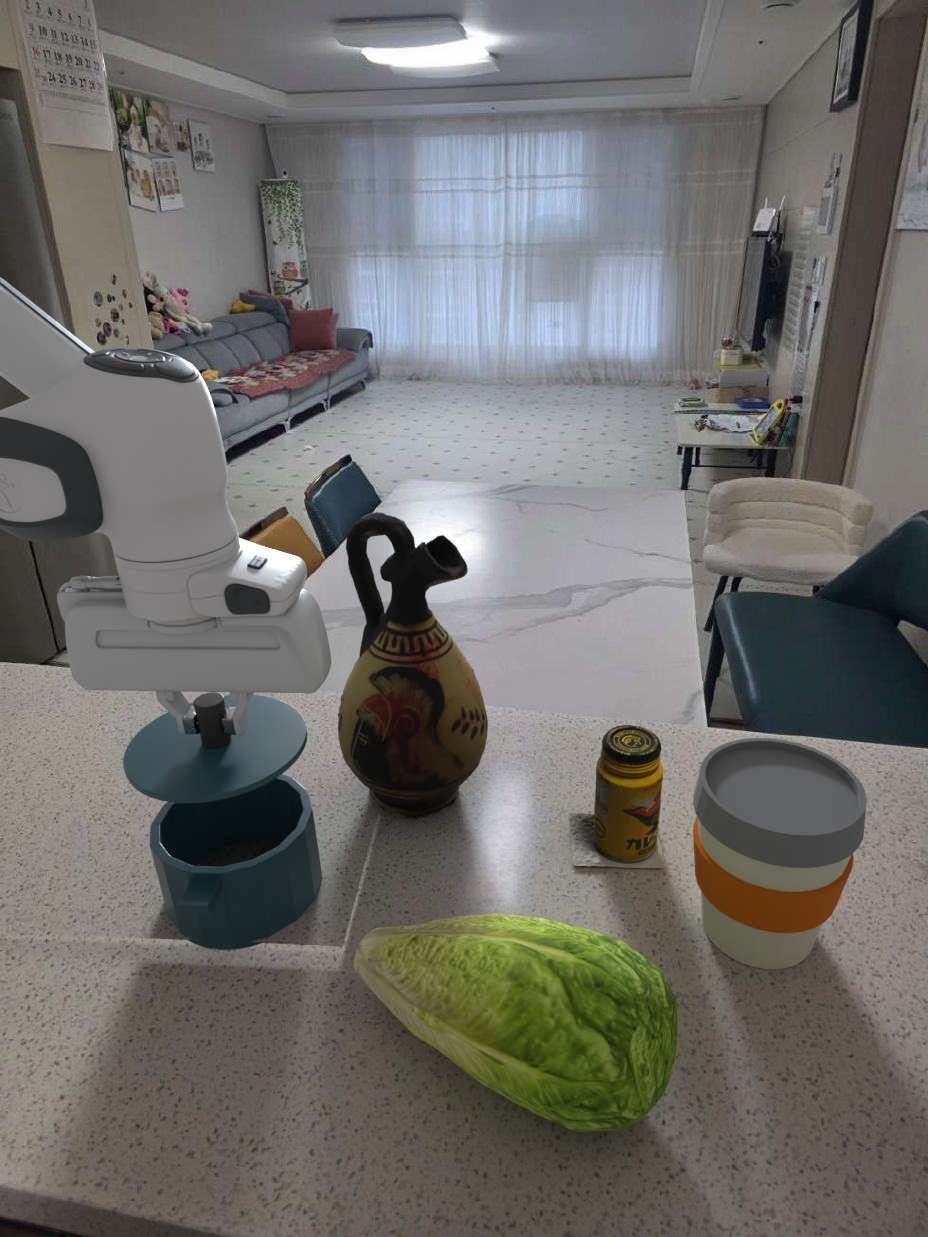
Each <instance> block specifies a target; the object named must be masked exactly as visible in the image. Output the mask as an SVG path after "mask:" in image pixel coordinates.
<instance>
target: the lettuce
mask: <svg viewBox="0 0 928 1237" xmlns="http://www.w3.org/2000/svg"><path fill="white" fill-rule="evenodd" d="M353 968H354V970H355V972H356V974H357V975H358V976H359V978H360V980H361V981H362V982H363V983H364V984H365V986H366V987H367V988H368V989H369V990H370V991H371V992H372V993H373V994H374V995H375V996H376V997H377V998H378V999H379V1000H380V1001H381V1002H382V1003H383V1004H384V1005H385V1007H386V1008H387V1009H388V1010H389V1011H390V1012H391V1014H393V1015H394V1017H396V1018H397V1020H399V1021H400V1022H401V1023H402V1024H403V1026H404V1027H405V1028H407V1030H409V1032H410V1033H411V1034H412V1035H413V1036H415V1037H416V1038H418V1039H419V1040H421V1041H423V1042H424V1043H426V1044H427V1045H429V1046H430V1047H432V1048H433V1049H435V1050H436V1051H438V1052H439V1053H441V1054H442V1055H443V1056H445V1057H446V1058H448V1059H449V1060H450V1061H451V1062H452V1063H454V1064H455V1065H456V1066H458V1067H459V1068H460V1069H461V1070H463V1071H464V1072H465V1073H466V1074H468V1075H469V1076H470V1077H472V1078H473V1079H474V1080H475V1081H476V1082H477V1083H480V1084H481V1085H483V1086H485V1087H486V1088H488V1089H490V1090H492V1091H493V1092H495V1093H497V1094H499V1095H500V1096H502V1097H504V1098H506V1099H508V1100H510V1101H511V1102H513V1103H515V1104H516V1105H518V1106H520V1107H521V1108H523V1109H526V1110H527V1111H529V1112H531V1113H533V1114H535V1115H537V1116H539V1117H541V1118H543V1119H546V1120H548V1121H550V1122H553V1123H554V1124H556V1125H559V1126H561V1127H564V1128H566V1129H567V1130H570V1131H572V1132H575V1133H584V1132H585V1133H586V1132H588V1133H589V1132H607V1131H608V1132H609V1131H610V1132H611V1131H624V1130H625V1129H627V1128H628V1127H630V1126H632V1125H634V1124H635V1123H636V1122H638V1121H639V1120H641V1119H642V1118H644V1117H645V1116H647V1115H648V1114H649V1113H650V1112H651V1110H653V1108H654V1107H655V1106H656V1104H657V1103H658V1102H659V1101H660V1100H661V1098H663V1096H664V1094H665V1092H666V1090H667V1087H668V1085H669V1082H670V1080H671V1077H672V1072H673V1068H674V1065H675V1062H676V1054H677V1048H678V1037H679V1020H678V1016H679V1015H678V1001H677V997H676V995H675V993H674V991H673V990H672V987H671V986H670V983H669V981H668V980H667V978H666V975H665V974H664V972H663V970H662V969H661V968H660V967H658V966H657V965H656V964H655V963H653V962H652V961H650V960H649V959H647V957H645V956H643V955H642V954H641V953H639V952H638V951H636V950H635V949H634V948H632V947H631V946H629V945H628V944H627V943H625V942H624V941H623V940H621V939H620V938H619V939H618V938H616V937H614V936H611V935H608V934H605V933H602V932H600V931H596V930H595V929H594V930H593V929H590V928H587V927H582V926H578V925H573V924H570V923H565V922H560V921H557V920H552V919H547V918H543V917H539V916H528V915H518V914H506V913H486V914H485V913H483V914H482V913H481V914H469V915H459V916H453V917H448V918H442V919H436V920H435V919H434V920H431V921H426V922H421V923H417V924H414V925H398V926H397V925H394V926H384V927H383V926H382V927H377V928H374V929H372V930H370V931H368V932H367V933H365V935H364V936H363V937H362V939H361V940H360V942H359V944H358V947H357V948H356V950H355V955H354V958H353Z"/></svg>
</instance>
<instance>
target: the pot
mask: <svg viewBox="0 0 928 1237" xmlns="http://www.w3.org/2000/svg"><path fill="white" fill-rule="evenodd" d="M149 826H150V828H149V830H150V831H149V848H150V851H151V855H152V859H153V860H152V861H153V863H154V867H155V871H156V875H157V878H158V883H159V886H160V891H161V894H162V898H163V901H164V906H165V909H166V913H167V917H168V918H169V919H170V920H171V922H172V924H173V926H175V928H176V929H177V931H178V932H179V934H181V935H182V936H184V937H187V939H186V941H188V942H189V943H190V942H191V943H192V944H194V945H196V946H199V947H202V948H206V949H211V950H238V949H246V948H250V947H254V946H257V945H260V944H262V941H261V942H256V941H259V940H263V939H267V938H269V937H271V936H272V935H275V934H277V933H278V932H280V931H282V930H283V929H285V928H287V927H288V926H290V925H292V924H294V923H295V922H296V921H298V920H299V918H301V916H302V915H303V914H304V913H305V912H306V910H307V909H308V908H310V906H311V905H312V904H313V903H314V902H315V901H316V899H317V896H318V893H319V889H320V887H321V883H322V880H323V872H322V866H321V859H320V851H319V844H318V838H317V831H316V824H315V816H314V810H313V805H312V801H311V797H310V793H309V791H308V789H306V788H305V787H304V786H303V785H302V784H301V783H300V782H299V781H297V780H296V779H295V778H294V777H292V776H289V775H287V774H285V773H282V774H281V775H280V776H278V777H277V778H275V779H274V780H272V781H271V782H269V783H267V784H265V785H263V786H261V787H259V788H256V789H254V790H252V791H249V792H247V793H244V794H241V795H238V796H235V797H231V798H227V799H223V800H217V801H211V802H203V803H173V802H167V801H166V803H164V804H163V805H162V807H161V808H160V809H159V811H158V813H157V814H156V816H155V817H154V819H153V820H152V821H151V824H150V825H149ZM253 841H259V842H260V841H261V842H278V843H280V844H278V845H277V846H275V847H273V848H272V849H269V850H267V851H266V852H264V853H262V854H260V855H259V856H257V857H254V858H253V859H249V860H245V861H239V862H236V863H231V864H228V865H222V866H211V865H210V866H207V865H206V866H205V865H199V864H200V863H202V862H203V861H204V860H205V859H206V858H208V857H210V856H212V855H214V854H216V853H218V852H220V851H222V850H224V849H225V848H227V847H230V846H235V845H240V844H243V843H249V842H253ZM188 938H189V939H188Z"/></svg>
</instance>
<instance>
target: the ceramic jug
mask: <svg viewBox="0 0 928 1237" xmlns="http://www.w3.org/2000/svg"><path fill="white" fill-rule="evenodd" d="M378 536H386V537H387V539H388V540H389V542H390V543H391V546H392V548H393V551H394V552H393V553H392V554H391V555H390V556H389V557H387V558H386V559H385V561H384V562H383V563H382V565H381V566H380V569H379V573H380V578H381V579H382V580H383V581H384V582H388V583H390V584H391V594H390V595H391V596H390V601H389V603H388V605H387V609H386V610H385V606H384V603H383V600H382V596H381V593H380V591H379V589H378V586H377V583H376V579H375V574H374V571H373V568H372V564H371V561H370V558H369V557H368V552H367V549H368V540H369V539H371V538H372V537H378ZM345 542H346V543H345V551H346V555H347V559H348V560H347V565H348V566H347V567H348V570H349V574H350V576H351V579H352V582H353V585H354V588H355V591H356V594H357V597H358V600H359V604H360V606H361V608H362V610H363V614H364V618H365V625H364V627H363V630H362V631H363V632H362V638H361V643H360V648H359V657H358V658H357V660H356V661H355V662H354V665H353V666H352V669H351V671H350V673H349V675H348V677H347V679H346V682H345V685H344V688H343V690H342V691H343V692H342V694H341V695H340V704H339V710H338V713H337V717H338V718H337V719H338V720H337V721H338V722H337V735H338V742H339V747H340V751H341V754H342V758H343V761H344V762H345V764H346V766H348V768H349V770H351V772H352V773H353V774H354V776H355V777H356V778H357V779H358V780H359V781H360V782H361V784H362V785H364V786H365V787H366V788H367V789H368V790H369V793H370V794H371V796H372V797H373V799H374V800H375V802H377V803H378V804H379V806H380V807H381V808H383V809H384V810H387V811H389V812H391V813H393V814H396V815H398V816H402V817H404V818H407V819H419V818H422V817H426V816H428V815H431V814H434V813H440V812H442V811H443V810H446V809H447V808H449V807H451V806H452V805H453V804H455V803H456V802H457V798H458V797H457V796H458V794H459V791H460V786H461V785H463V783H464V782H465V781H466V780H467V779H468V778H470V777H471V775H472V774H473V773H474V772H475V770H476V769H477V768H478V767H479V765H480V762H481V760H482V758H483V756H484V752H485V750H486V745H487V740H488V729H489V721H488V720H489V719H488V715H487V710H486V705H485V701H484V697H483V693H482V690H481V685H480V683H479V680H478V678H477V676H476V674H475V670H474V669H473V667H472V666H471V664H470V662H469V661H468V659H467V658H466V656H465V655H464V653H463V652H462V650H461V649H460V647H459V646H458V644H457V643H456V642H455V640H454V639H453V637H452V636H451V634H450V633H449V632H448V631H447V629H446V627H444V626H443V625H442V624H441V622H440V621H439V620H438V619H437V618H436V616H435V615H434V613H433V610H431V609H430V608H429V605H428V600H427V598H426V595H427V591H428V590H429V589H430V588H432V587H435V586H438V585H440V584H444V583H445V584H446V583H449V582H453V581H456V580H460V579H462V578H464V577H465V576H466V575H468V564H467V562H466V560H465V558H463V555H462V554H461V552H460V551H459V549H458V546H456V545H455V544H454V543H453V542H452V541H451V540H450V539H449V538H448V537H447V536H445V535H444V534H441V535H437V536H435V538H433V539H431V540H430V541H428V542H427V543H426V541H422V542H421V543H419V544H418V545H417V546H416V543H415V536H414V535H413V533H412V531H411V529H410V528H409V526H407V523H406V522H405V521H404V520H403V519H400V518H398V517H396V516H392V515H389V514H388V515H387V514H385V512H379V511H376V512H370V513H367V514H365V515H363V516H361V517H360V518H359V519H357V520H356V521H355V522H354V523H353V524H352V526H351V527H350V530H349V532H348V534H347V535H346V541H345Z"/></svg>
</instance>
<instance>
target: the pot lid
mask: <svg viewBox="0 0 928 1237" xmlns="http://www.w3.org/2000/svg"><path fill="white" fill-rule="evenodd" d="M189 703H190V704H191V706H194V709H195V713H196V718H197V723H198V727H199V732H200V733H199V734H180V733H179V729H178V725H177V721H176V718H174V717H173V716H172V715H171V714H170V713H169V712H168V711H167V712H165V713H163V714H161V715H160V716H158V717H156V718H155V719H153V720H152V721H151V722H149V723H148V724H146V725H145V726H144V727H143V728H141V729H140V730H139V731H138V732H137V733H136V734H135V735H134V737H132V738H131V740H130V742H129V743H128V745H127V746H126V749H125V751H124V755H123V759H122V763H123V764H122V765H123V767H122V768H123V770H124V771H123V772H124V774H125V777H126V779H127V781H128V783H129V784H130V785H131V786H132V787H133V788H134V789H135V790H136V791H138V792H139V793H141V794H142V795H144V796H147V797H149V798H151V799H154V800H158V801H161V802H166V803H167V802H173V803H203V802H211V801H217V800H223V799H227V798H231V797H235V796H238V795H241V794H244V793H247V792H249V791H252V790H254V789H256V788H259V787H261V786H263V785H265V784H267V783H269V782H271V781H272V780H274V779H275V778H277V777H278V776H280V775H281V774H285V772H286V771H288V770H289V769H290V768H291V767H292V766H293V765H294V764H295V763H296V762H297V760H298V759H299V758H300V757H301V756H302V754H303V752H304V750H305V747H306V745H307V741H308V729H307V723H306V720H305V718H304V717H303V715H302V713H301V712H300V711H299V710H298V709H296V707H294V706H293V705H291V704H290V703H288V702H285V701H283V700H280V699H277V698H274V697H271V696H266V695H259V694H258V695H257V694H253V696H252V698H251V700H250V703H249V705H248V707H247V708H246V711H247V717H248V728H247V730H246V732H245V733H244V735H225V734H224V729H225V728H224V727H223V725H222V717H223V716H224V714H226V711H227V709H228V708H229V707H237V705H238V701H237V702H232V701H231V698H230V694H226V695H223V694H222V693H221V692H204V693H202V694H200V695H198V696H197V697H195V699H194V700H193V702H189Z"/></svg>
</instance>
